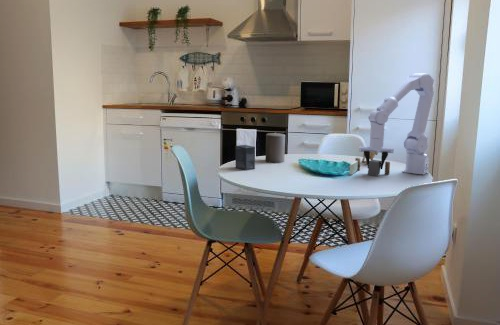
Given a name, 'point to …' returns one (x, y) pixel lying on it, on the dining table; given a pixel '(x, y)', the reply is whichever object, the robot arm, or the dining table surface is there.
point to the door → (353, 167)
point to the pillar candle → (275, 147)
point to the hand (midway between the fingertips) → (374, 168)
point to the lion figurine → (372, 155)
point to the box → (245, 157)
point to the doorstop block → (374, 167)
